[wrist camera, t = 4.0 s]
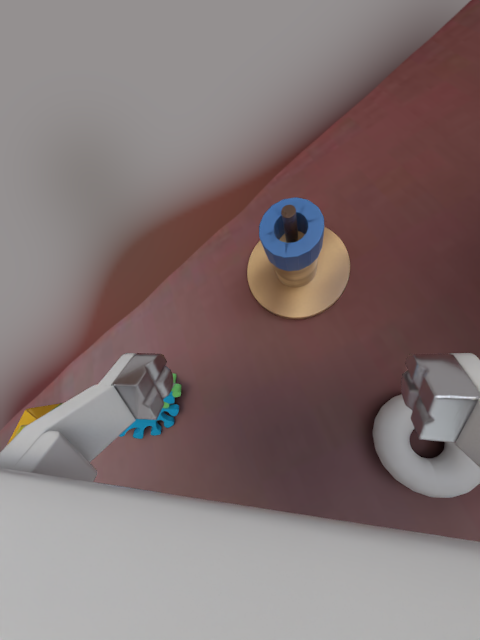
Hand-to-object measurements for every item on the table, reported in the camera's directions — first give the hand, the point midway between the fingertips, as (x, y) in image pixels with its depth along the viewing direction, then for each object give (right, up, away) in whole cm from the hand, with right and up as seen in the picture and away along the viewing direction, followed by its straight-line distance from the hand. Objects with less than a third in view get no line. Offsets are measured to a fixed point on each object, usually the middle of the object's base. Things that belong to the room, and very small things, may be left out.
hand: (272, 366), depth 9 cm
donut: (+18, -11, +19) cm, 28 cm away
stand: (+6, +8, +25) cm, 27 cm away
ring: (+4, +9, +18) cm, 20 cm away
